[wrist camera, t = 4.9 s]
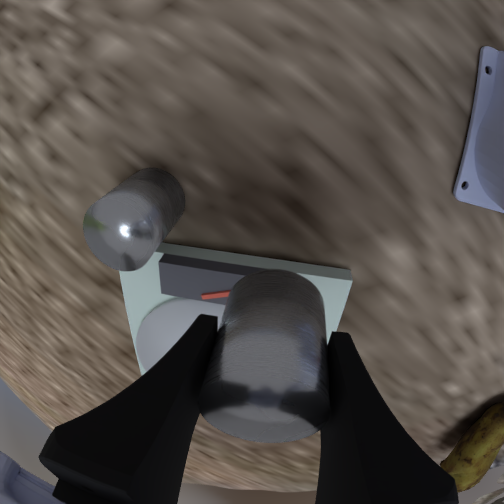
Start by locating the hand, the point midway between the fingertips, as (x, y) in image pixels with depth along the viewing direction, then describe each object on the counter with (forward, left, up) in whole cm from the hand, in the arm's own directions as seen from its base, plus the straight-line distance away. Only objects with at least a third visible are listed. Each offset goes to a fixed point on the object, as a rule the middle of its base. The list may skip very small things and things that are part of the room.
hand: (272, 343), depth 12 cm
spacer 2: (0, 0, -2) cm, 2 cm away
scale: (+10, -3, -9) cm, 14 cm away
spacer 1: (-1, -8, -9) cm, 12 cm away
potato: (+22, +27, -9) cm, 36 cm away
